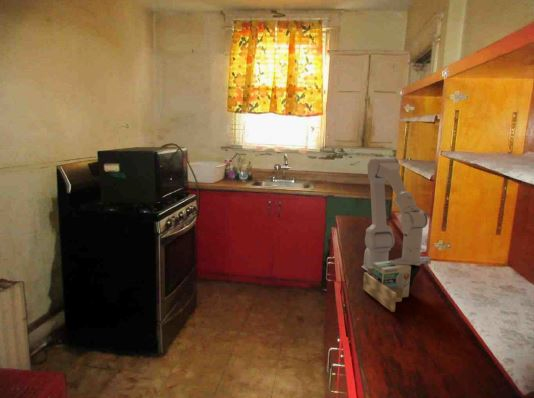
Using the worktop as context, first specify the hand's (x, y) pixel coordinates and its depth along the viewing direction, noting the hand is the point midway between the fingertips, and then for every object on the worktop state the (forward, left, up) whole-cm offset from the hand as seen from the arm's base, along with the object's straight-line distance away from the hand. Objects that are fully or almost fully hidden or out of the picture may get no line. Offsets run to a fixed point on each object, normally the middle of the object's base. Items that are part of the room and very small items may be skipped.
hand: (408, 285), depth 128 cm
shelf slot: (+2, -10, -3) cm, 11 cm away
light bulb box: (0, -7, -3) cm, 8 cm away
